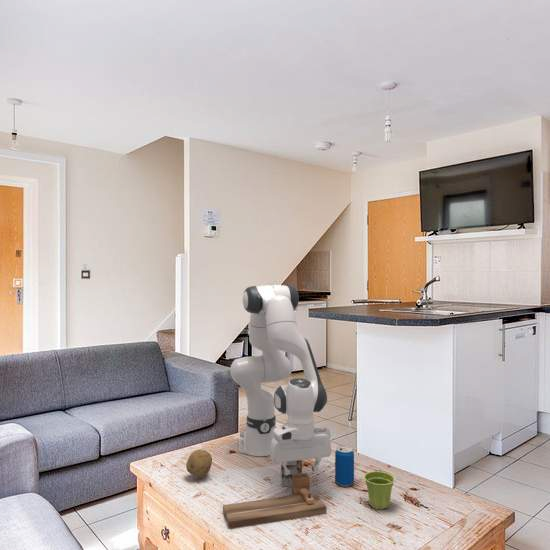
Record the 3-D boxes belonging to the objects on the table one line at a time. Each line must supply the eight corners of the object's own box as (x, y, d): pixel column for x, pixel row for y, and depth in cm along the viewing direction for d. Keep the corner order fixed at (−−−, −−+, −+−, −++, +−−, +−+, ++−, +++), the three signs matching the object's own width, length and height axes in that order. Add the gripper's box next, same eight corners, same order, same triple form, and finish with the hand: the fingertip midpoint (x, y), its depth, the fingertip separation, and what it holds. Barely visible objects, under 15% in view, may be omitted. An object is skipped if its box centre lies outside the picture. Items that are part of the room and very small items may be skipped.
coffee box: (299, 487, 157) (298, 440, 157) (280, 486, 159) (280, 439, 159) (302, 476, 166) (302, 431, 166) (285, 474, 168) (285, 430, 168)
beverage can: (340, 477, 165) (340, 444, 165) (357, 482, 161) (357, 448, 161) (332, 484, 160) (331, 449, 160) (348, 489, 156) (348, 453, 156)
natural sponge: (188, 485, 160) (188, 456, 160) (184, 474, 168) (184, 447, 168) (214, 481, 162) (214, 452, 162) (209, 471, 171) (209, 444, 171)
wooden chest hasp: (292, 496, 151) (291, 472, 151) (306, 494, 153) (306, 470, 153) (303, 512, 141) (303, 487, 141) (318, 510, 142) (318, 485, 142)
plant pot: (393, 514, 139) (393, 486, 139) (361, 509, 143) (361, 481, 143) (396, 500, 148) (396, 473, 148) (366, 496, 151) (366, 469, 151)
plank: (222, 511, 141) (222, 504, 141) (314, 498, 150) (314, 491, 150) (229, 528, 132) (229, 521, 132) (326, 513, 140) (326, 506, 140)
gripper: (326, 424, 156) (327, 465, 156) (268, 430, 151) (268, 472, 150) (334, 429, 150) (334, 472, 150) (273, 436, 145) (274, 480, 144)
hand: (301, 472), depth 150 cm, fingers open, 8 cm apart
